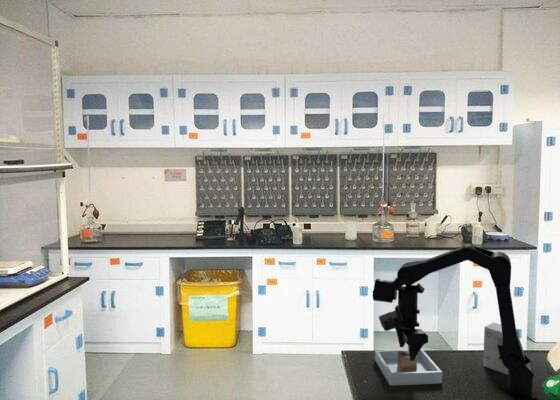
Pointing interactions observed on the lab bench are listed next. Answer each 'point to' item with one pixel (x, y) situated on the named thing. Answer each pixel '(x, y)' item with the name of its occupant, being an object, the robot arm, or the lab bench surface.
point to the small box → (493, 348)
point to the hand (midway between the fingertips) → (406, 353)
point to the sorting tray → (394, 376)
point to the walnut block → (406, 362)
